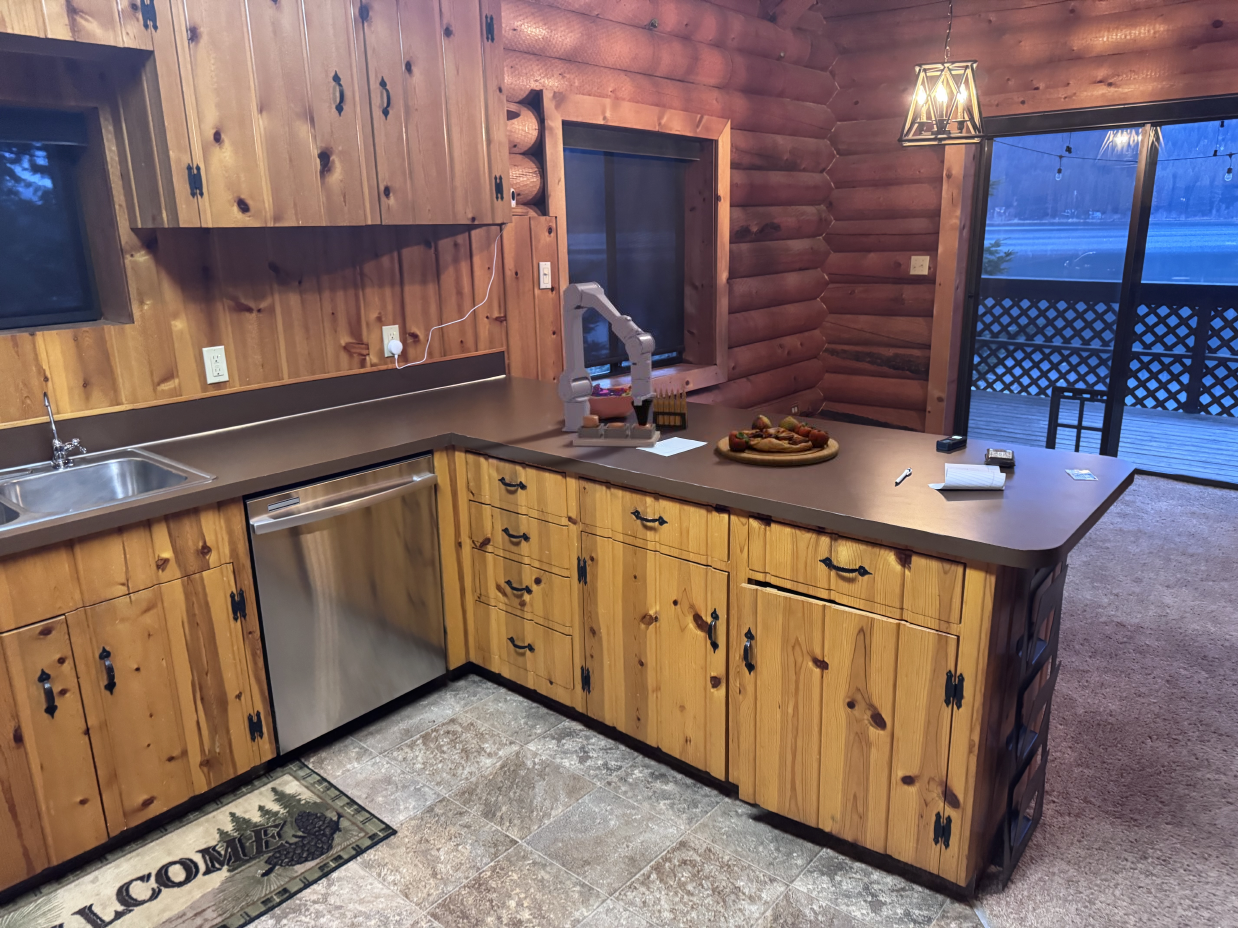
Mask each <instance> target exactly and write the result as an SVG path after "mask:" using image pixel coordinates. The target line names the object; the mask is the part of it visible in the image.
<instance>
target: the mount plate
mask: <svg viewBox="0 0 1238 928" xmlns="http://www.w3.org/2000/svg"><path fill="white" fill-rule="evenodd" d="M598 424H599V427H598V428H583V424H582V425H581V426H580V427H579V428H578V431H577V436H575V437H574V438H573V440H572V446H574V447H575V446H583V447H588V446H589V447H644V448H645V447H647V448H650V447H651V448H652V447H655V446H656V445H657V442H658V441H659V440H660V437H661V431H657V428H655V424H653V423H649V424H650V425H651V428H650V429H641V428H635V425H636V424H637V423H633V424H632V425H631V426H630V423H624V428H609V424H611V423H607V424H606V425H605V423H598Z"/></svg>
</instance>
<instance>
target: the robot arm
mask: <svg viewBox="0 0 1238 928" xmlns="http://www.w3.org/2000/svg"><path fill="white" fill-rule="evenodd" d="M562 296H563V299H562V300H563V305H562V322H563V323H562V324H563V337H564V338H563V339H564V357H565V359H564V360H565V369H564V370H563V371H562V372H561V374H559V378H558V379H559V380H558V381H559V383H558V386H557V393H558V396H559V398H560V399H561V400H562V402H563V405H564V421H565V422H564V424H565V426H564V427H563V428H562V429H561V432H578V428H579V427H580V426H581V425H582V424H583V416H586V415H590V404H589V402H588V399H590V395H591V394H592V392H593V386H594V384H593V381H592V379H591V372H590V371H588V369H586V368H585V356H584V342H583V341H584V338H583V337H584V335H583V314H584V313H585V312H586V310H587V309H589V308H594V309H595V310H596V311H597V312H599V314H601V315H602V316H603V317H604V318H605V319H606V320H607V321H608V322H610V324H611V330H612V332H614V334H616V336H617V337H618V338H619V339H620V340H621V341H622V342H623V343H624V345H625V346H624V347H625V351H626V353H627V354H628V360H629V362H630V386H631V387H630V389H631V390H632V393H631V397H632V398H633V399H634V400H633V401H632V402H631V405H632V407H633V408H634V410H633V411H634V413H635V416H636V421H637V424H638V425H639V426H646V425H647V424H648V421H649V414H650V409H651V407H652V405H653V400H654V398H652V397H654V396H656V393H654V392H653V383H652V381H653V380H652V379H653V378H652V376H653V375H652V374H653V373H652V353H654V352H655V351H654V350H655V349H656V342H655V339H654V337H653V336H652V334H651V333H650V332H644V331H643V330H642V329H641V328H639V327H638V325H636V323H634V321H632V320H633V319H632V317H630V315H629V316H627V315H621V313H620V312H619V311H618V310H617V308H616V307H615V306H614V304H612V303H611V301H610V300H609V298H608V297H607V296H606V295H605V291H604V288H603V287H601V285H600V284H599V283H598V282H596V281H590V282H583V283H570V284H568V285H567V286H566V288H564V289H563V290H562Z"/></svg>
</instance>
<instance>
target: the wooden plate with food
mask: <svg viewBox="0 0 1238 928" xmlns="http://www.w3.org/2000/svg"><path fill="white" fill-rule="evenodd" d="M716 450H717V452H718V453H719V455H720V456H722V457H724V458H726V459H729V460H732V461H735V462H739V463H744V464H750V465H758V466H775V467H776V466H779V467H780V466H781V467H782V466H783V467H784V466H785V467H786V466H801V465H810V464H817V463H821V462H824V461H828V460H830V459H832V458H834V457H836V456H837V455H838V453H839V451H840V445H839V444H838V442H837V441H836V440H834V439H833V438H830V435H829V432H828V431H827V430H824V431H823V430H821V429H818V428H816V427H815V426H808V422H803V421H801V423H799V421H798V420H797V419H795V418H794V417H792V416H787V417H786V418H784V419H783V420H781V421H780V422H779V423H778V426H777V427H772V424H771V421H770V420H769V419H768V418H767V417H766V416H764V415H762V414H760V415H758V416H757V417H756V418H755V419H754V420H753V421H752V424H751V430H741V431H737V430H732V431H731V432H730V433H729V434H728V436H726V437H724V438H722V439H721V440H719V441H718V442H717V445H716Z"/></svg>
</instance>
